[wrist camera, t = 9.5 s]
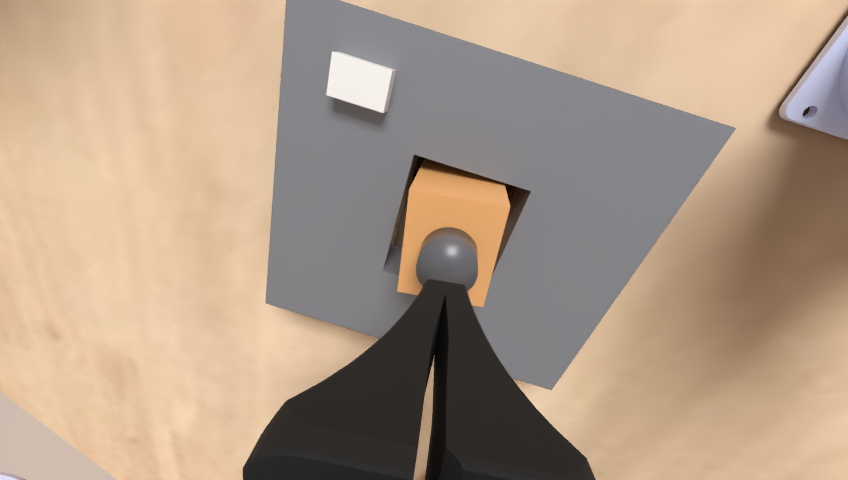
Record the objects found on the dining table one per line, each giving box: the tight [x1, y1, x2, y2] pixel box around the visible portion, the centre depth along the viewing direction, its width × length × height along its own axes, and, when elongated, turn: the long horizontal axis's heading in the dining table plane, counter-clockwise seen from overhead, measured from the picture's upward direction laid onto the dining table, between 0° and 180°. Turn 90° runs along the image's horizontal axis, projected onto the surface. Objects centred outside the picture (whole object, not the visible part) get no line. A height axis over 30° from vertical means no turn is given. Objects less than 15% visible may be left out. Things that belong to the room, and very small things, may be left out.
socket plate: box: [266, 0, 736, 390], centre depth 18 cm, size 18×16×4 cm
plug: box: [397, 158, 510, 307], centre depth 16 cm, size 4×5×7 cm
